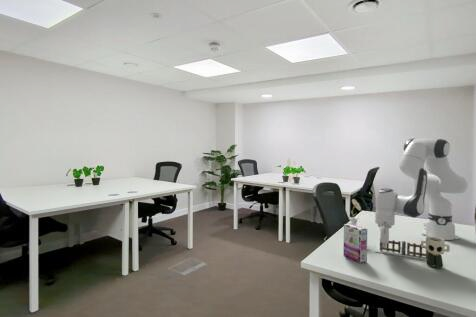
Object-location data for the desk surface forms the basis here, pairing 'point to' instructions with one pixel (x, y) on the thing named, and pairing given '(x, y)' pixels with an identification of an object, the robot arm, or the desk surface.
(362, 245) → the candy bar box
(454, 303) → the desk surface
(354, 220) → the flower in vase
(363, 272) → the desk surface
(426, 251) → the fence panel with post
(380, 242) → the fence gate
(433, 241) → the character mug
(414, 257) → the card
